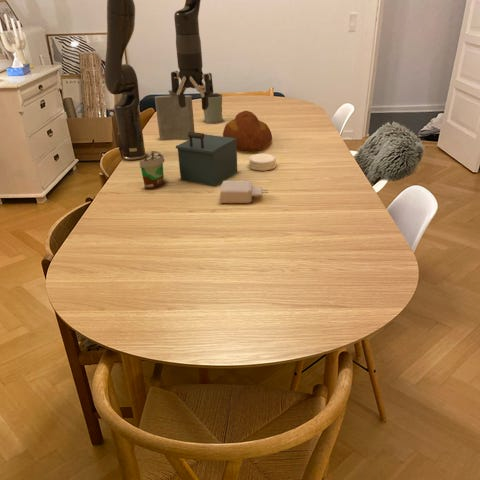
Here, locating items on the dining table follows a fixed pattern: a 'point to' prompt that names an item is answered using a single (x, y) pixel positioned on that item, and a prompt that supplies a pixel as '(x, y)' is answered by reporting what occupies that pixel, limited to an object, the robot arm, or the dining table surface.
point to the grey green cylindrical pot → (214, 109)
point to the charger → (239, 191)
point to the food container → (153, 170)
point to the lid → (205, 143)
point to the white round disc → (262, 162)
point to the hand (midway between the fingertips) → (193, 108)
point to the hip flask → (174, 117)
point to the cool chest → (208, 165)
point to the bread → (248, 132)
